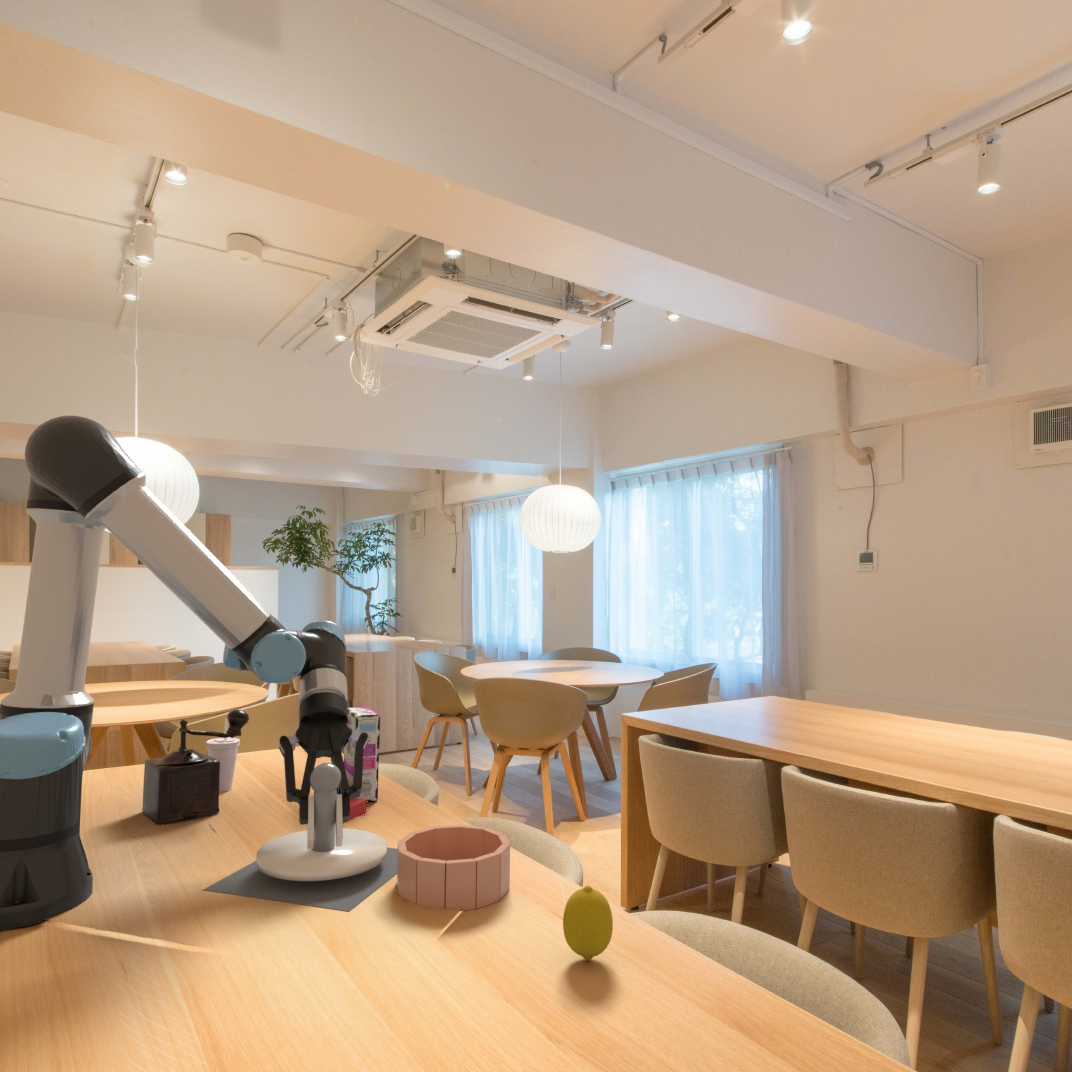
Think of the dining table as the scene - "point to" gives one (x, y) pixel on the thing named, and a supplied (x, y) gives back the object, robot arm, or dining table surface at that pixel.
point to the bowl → (453, 866)
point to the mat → (309, 886)
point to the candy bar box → (370, 724)
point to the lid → (322, 841)
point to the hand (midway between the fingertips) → (325, 842)
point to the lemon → (587, 922)
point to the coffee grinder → (186, 778)
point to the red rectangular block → (356, 807)
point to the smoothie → (224, 758)
